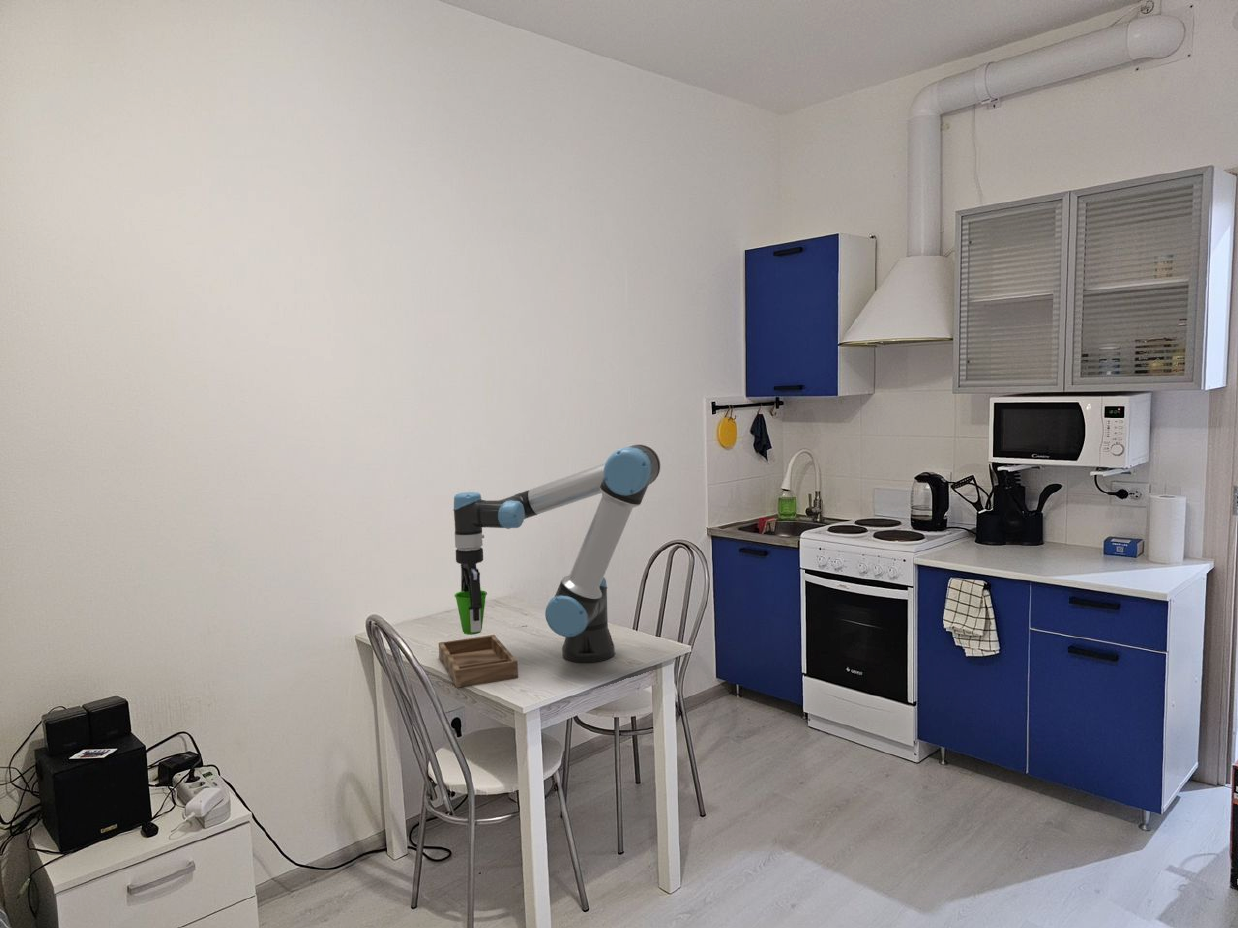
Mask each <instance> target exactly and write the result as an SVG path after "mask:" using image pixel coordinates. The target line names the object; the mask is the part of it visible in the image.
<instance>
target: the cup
mask: <svg viewBox="0 0 1238 928" xmlns="http://www.w3.org/2000/svg"><path fill="white" fill-rule="evenodd" d="M487 596H488V592H487V591H485V590H482V589H481V600H482V608H480V613H481V631H480V632H472V633H471V621H470V610H469V609H468V608H469V607H471V604H470V596H469V591H465V592H464V591H461V590H460V591H459V592H456V593H454V598H455V600H456V604H457V609H458V610H457V611H458V614H459V618H460V619H459V620H460V624H461V629H462V633H463V634H464V635H478V634H480V633H481V632H482V630H483V623H484V613H485V605H486V598H487ZM476 604H478V603H476Z"/></svg>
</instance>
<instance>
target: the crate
mask: <svg viewBox="0 0 1238 928" xmlns="http://www.w3.org/2000/svg"><path fill="white" fill-rule="evenodd" d="M438 655H439V656H438V658H439V660H440V662H441V663H442V665H443V666H444V668H445V670H446V672H447V673H448V675H449V676H450V678H451V680H452V682H453V684H454V686H455V687H456V689H458V688H463V687H464V688H465V687H469V686H477V685H481V684H482V683H483V684H487V683H489V684H490V683H494V682H501V681H507V680H513V679H518V678H519V666H518V665H519V663H518V660H517V659H516V658H515V657H514V655H512V653H511V652H510V651H509V650H508V649H507V648H506V646H505V645H504V644H503V643H502V642H501V640H500V639H498V637H497V636H496V635H495V634H490V635H484V636H477V637H470V638H469V637H468V638H462V639H454V640H448V641H442V642H438ZM476 684H477V685H476Z"/></svg>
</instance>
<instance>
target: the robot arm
mask: <svg viewBox="0 0 1238 928" xmlns="http://www.w3.org/2000/svg"><path fill="white" fill-rule="evenodd" d="M660 472H661V461H660V458H659V456H658V454H657V453H656V451H655V450H654V449H652V448H651V447H649V446H647V445H644V444H634V445H631V446H626V447H622V448H618V450H616V451H614V452H613V453H611V455H610V456H608V457H607V460H606V462H604V463H602V464H599V465H596V466H593V467H590V468H588V469H584V470H581V471H578V472H577V473H573V474H570V475H567V476H565V477H562V478H558V479H556V480H554V481H550V482H547V483H545V484H541V485H539V486H536V487H534V488H530V489H529V490H525V491H523V492H517V494H516V493H515V494H513V495H511V496H508V497H506V498H502V499H499V500H498V499H497V500H485V499H482V496H481V493H480V492H475V491H468V492H467V491H464V492H459V493H457V494H455V495H454V497H453V509H452V510H453V511H452V512H453V516H454V517H453V518H454V547H455V548H456V549H455V562H456V563H457V564H458V565H459V564H460V571H461V572H460V573H461V574H460V576H461V577H460V587H461V589H460V592H461V591H464V592H465V591H469V596H470V604H471V607H469V608H468V609H469V610H470V621H471V633H472V632H480V631H481V632H482V630H481V613H480V608H482V600H481V590H482V589H481V580H480V579H481V576H480V575H481V572H480V571H479V568H477V564H478V563H482V562H483V561H484V549H483V548H482V546H484V545H483V539H484V538H485V535H484V534H483V528H492V529H494V528H495V529H507V530H509V529H518V528H520V527H522V525H523V523H524V520H526V519H529V518H531V517H534V516H538V515H540V514H544V513H545V512H549V511H552V510H554V509H558V508H562V507H564V506H567V505H570V504H573V503H575V502H578V501H581V500H585V499H587V498H590V497H593V496H597V495H599V494H601V495H602V496H601V498H600V501H599V503H598V505H597V508H596V511H595V513H594V515H593V518H592V521H591V522H590V525H589V527H588V530H587V531H586V534H585V537H584V539H583V542H582V544H581V547H580V549H579V551H578V554H577V557H576V559H575V561H574V563H573V565H572V569H571V570H570V573H569V574H568V575H566V576H564V577H562V579H561V580H560V583H559V585H558V588H557V590H556V593H555V595H554V597H553V598H551V599H550V601H548V602H547V603H548V604H547V605H546V607H545V612H544V614H545V615H544V616H545V621H546V622H547V625H548V627H549V628H550V629H551V631H552V632H554V633H555V634H556V635H558V636H561V637H563V638H564V642H563V644H562V646H561V651H562V652H561V653H562V657H563V659H565V660H567V661H570V662H574V663H597V662H603V661H606V660H608V659H610V658H612V657H614V655H615V653H616V652H615V651H616V650H615V643H614V641H613V638H612V634H611V632H610V629H609V626H608V585H607V579H606V578H605V575H606V571H607V570H608V567H609V565H610V563H611V560H612V558H613V556H614V553H615V551H616V548H617V546H618V544H619V541H620V538H621V536H622V534H623V532H624V530H625V527H626V526H627V522H628V521H629V518H630V515H631V512H632V510H633V509H634V508H636V507H639V506H641V503H642V502H643V500H644V497H645V495H646V494H647V493H646V492H647V490H648V487H649V486H650V485H652V483H653V482H655V481H656V480H657V478H658V477H659V475H660ZM476 603H478V604H476ZM481 632H480V633H481Z"/></svg>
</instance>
